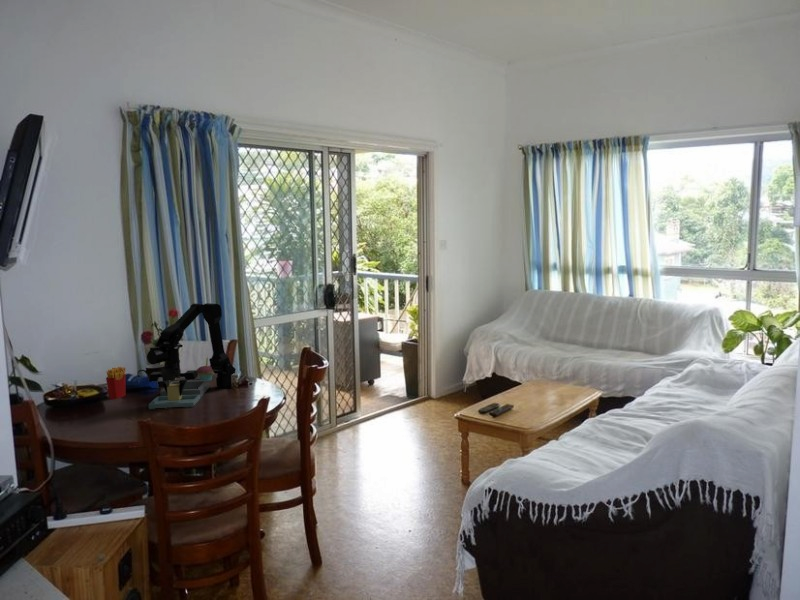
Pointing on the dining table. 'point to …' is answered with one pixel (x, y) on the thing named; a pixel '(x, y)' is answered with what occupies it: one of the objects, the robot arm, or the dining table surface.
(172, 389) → the block
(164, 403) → the tray
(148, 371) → the coffee mug
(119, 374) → the french fries
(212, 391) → the dining table surface
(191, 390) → the bin
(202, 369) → the cupcake
